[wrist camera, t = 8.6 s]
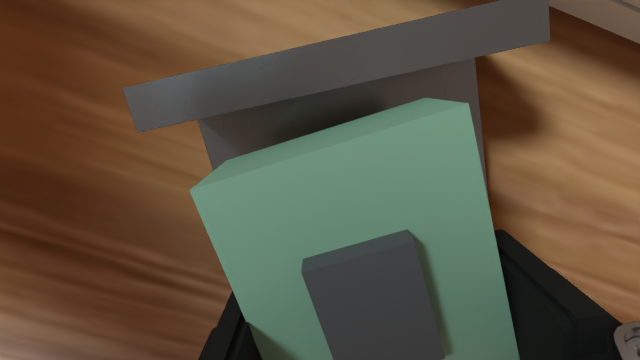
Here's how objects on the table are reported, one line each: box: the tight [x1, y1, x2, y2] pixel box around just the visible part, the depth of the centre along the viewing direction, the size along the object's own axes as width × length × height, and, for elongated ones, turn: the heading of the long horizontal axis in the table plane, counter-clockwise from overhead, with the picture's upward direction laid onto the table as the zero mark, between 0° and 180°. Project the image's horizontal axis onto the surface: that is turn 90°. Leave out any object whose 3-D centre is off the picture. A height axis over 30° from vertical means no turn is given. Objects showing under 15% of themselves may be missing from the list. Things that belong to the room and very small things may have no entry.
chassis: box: [122, 0, 550, 203], centre depth 14 cm, size 15×11×6 cm
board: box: [189, 98, 520, 360], centre depth 10 cm, size 10×6×4 cm, turn 18°
